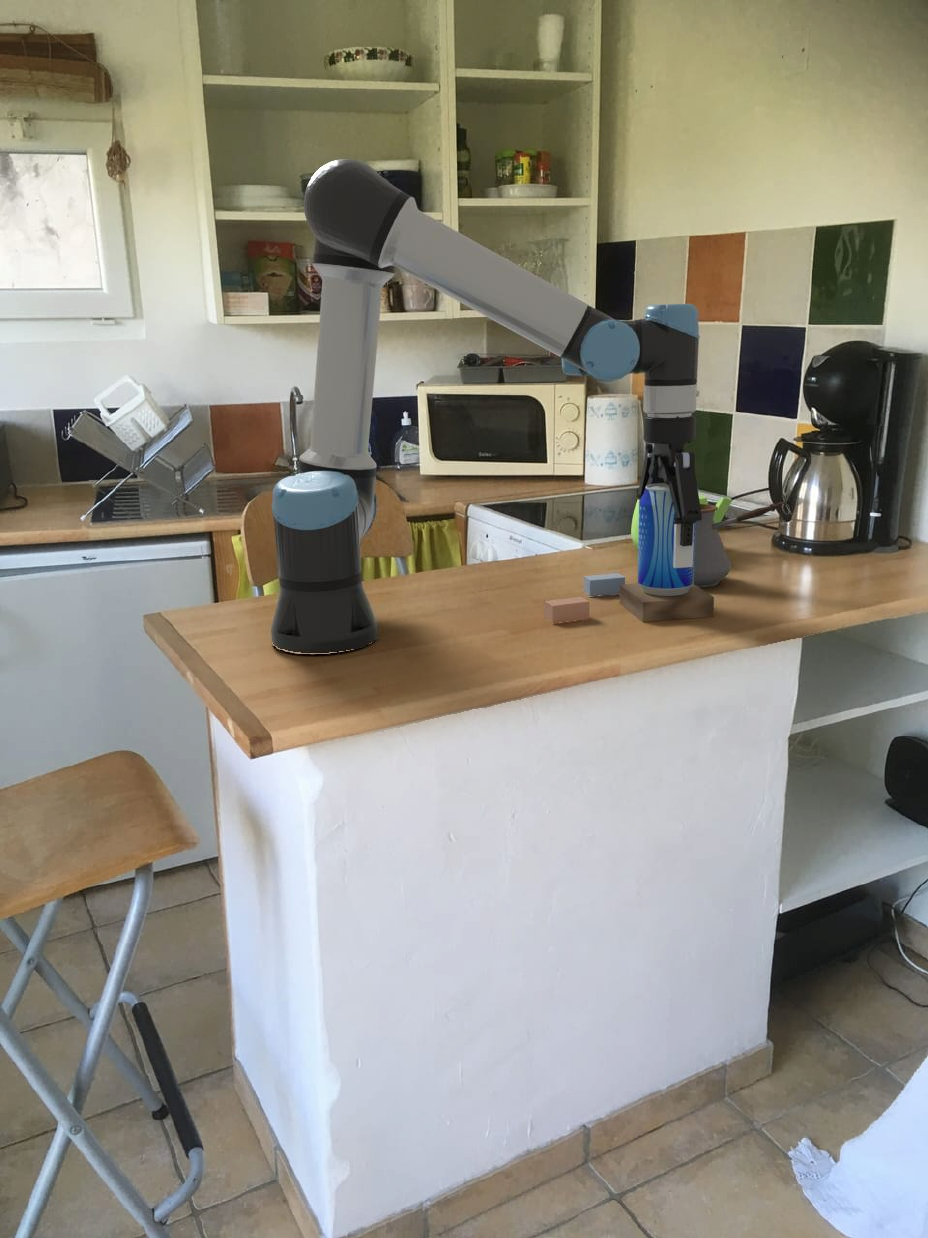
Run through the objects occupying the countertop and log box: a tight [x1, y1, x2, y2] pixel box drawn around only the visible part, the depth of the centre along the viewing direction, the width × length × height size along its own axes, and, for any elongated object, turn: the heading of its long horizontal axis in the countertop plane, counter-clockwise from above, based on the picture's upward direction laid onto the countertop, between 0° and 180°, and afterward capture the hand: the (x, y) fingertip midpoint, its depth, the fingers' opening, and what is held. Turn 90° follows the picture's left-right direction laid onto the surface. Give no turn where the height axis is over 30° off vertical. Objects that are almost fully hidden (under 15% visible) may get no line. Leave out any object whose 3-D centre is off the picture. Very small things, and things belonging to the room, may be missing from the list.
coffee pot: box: [694, 501, 791, 588], centre depth 167 cm, size 21×12×15 cm, turn 50°
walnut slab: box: [619, 582, 715, 623], centre depth 156 cm, size 11×11×3 cm
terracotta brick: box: [543, 596, 590, 624], centre depth 153 cm, size 6×3×3 cm, turn 109°
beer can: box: [637, 483, 696, 596], centre depth 153 cm, size 8×8×16 cm
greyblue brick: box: [583, 572, 626, 597], centre depth 167 cm, size 6×3×3 cm, turn 103°
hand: (666, 557), depth 154 cm, fingers open, 13 cm apart
